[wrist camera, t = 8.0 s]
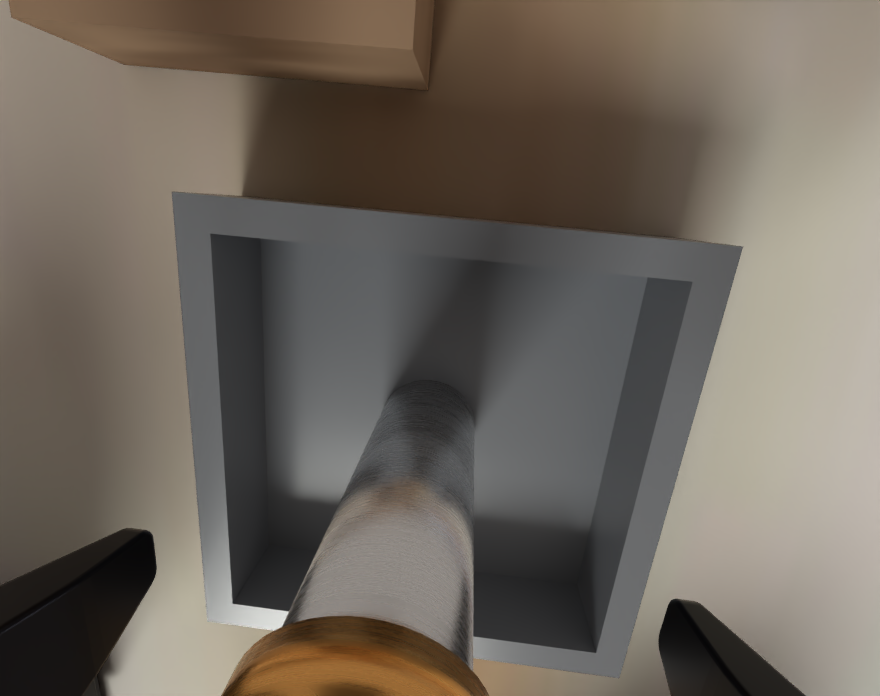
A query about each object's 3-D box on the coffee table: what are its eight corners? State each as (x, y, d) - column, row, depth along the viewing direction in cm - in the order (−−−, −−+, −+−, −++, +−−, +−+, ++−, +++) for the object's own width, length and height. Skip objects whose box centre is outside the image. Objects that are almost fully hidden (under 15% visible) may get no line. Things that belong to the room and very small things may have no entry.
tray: (254, 548, 16) (207, 621, 13) (241, 196, 12) (171, 191, 10) (592, 592, 16) (619, 678, 13) (678, 237, 12) (742, 246, 9)
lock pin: (369, 465, 14) (202, 869, 5) (374, 364, 13) (178, 664, 4) (477, 479, 14) (480, 915, 5) (491, 376, 13) (522, 714, 4)
